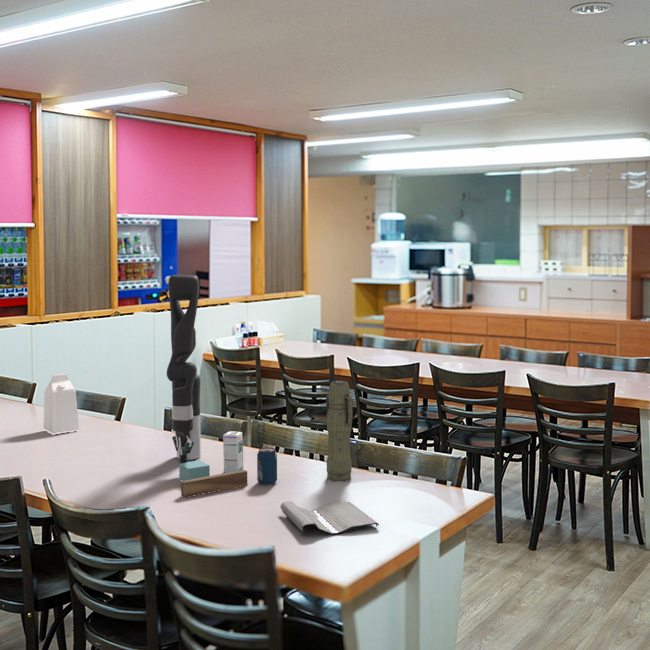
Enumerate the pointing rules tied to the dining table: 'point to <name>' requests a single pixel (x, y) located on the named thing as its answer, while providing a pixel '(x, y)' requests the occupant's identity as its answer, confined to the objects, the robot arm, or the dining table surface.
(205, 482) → the board
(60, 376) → the milk
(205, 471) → the block
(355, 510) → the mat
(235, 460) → the syrup box
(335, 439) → the thermos
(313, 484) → the dining table surface
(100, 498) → the dining table surface
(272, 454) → the soda can
